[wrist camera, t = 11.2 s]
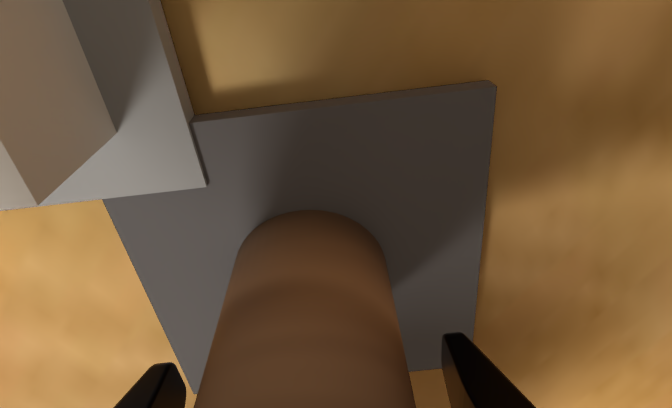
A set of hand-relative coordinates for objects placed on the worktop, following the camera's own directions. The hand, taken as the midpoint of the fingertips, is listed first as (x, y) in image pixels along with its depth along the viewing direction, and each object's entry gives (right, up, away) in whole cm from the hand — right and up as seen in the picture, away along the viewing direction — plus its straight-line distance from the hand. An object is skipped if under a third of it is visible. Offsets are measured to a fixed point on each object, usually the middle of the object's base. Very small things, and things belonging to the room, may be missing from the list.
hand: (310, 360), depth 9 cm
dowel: (0, +1, +2) cm, 3 cm away
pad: (0, +2, +3) cm, 3 cm away
